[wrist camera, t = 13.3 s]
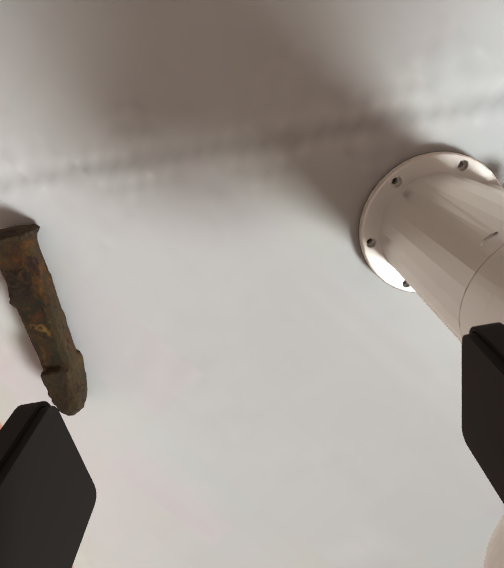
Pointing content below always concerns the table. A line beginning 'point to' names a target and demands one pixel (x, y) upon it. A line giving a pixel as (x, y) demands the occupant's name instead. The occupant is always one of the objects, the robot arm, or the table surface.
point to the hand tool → (43, 317)
